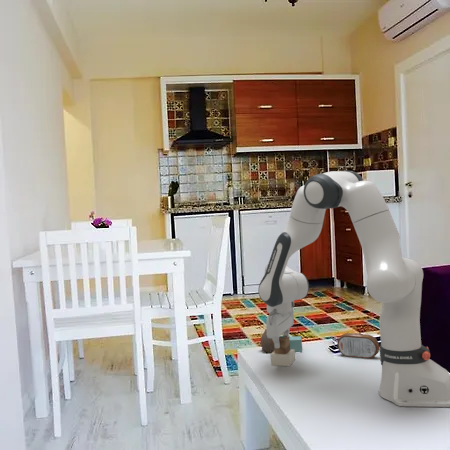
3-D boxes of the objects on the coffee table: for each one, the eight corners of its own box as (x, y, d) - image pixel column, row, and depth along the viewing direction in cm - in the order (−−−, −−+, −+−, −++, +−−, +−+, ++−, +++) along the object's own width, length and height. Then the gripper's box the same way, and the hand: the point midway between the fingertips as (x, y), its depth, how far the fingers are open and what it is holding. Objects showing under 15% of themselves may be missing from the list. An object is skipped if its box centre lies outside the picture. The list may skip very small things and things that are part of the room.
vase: (258, 350, 204) (256, 328, 204) (274, 347, 206) (272, 326, 206) (265, 354, 197) (263, 332, 197) (281, 351, 199) (279, 329, 199)
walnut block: (290, 350, 186) (289, 336, 186) (286, 354, 182) (285, 340, 182) (278, 349, 188) (277, 336, 188) (274, 353, 184) (273, 339, 184)
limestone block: (295, 360, 187) (294, 349, 187) (289, 366, 181) (288, 355, 181) (277, 359, 190) (276, 348, 190) (271, 365, 184) (270, 354, 184)
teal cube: (302, 348, 201) (301, 336, 201) (302, 352, 196) (300, 339, 196) (289, 349, 202) (288, 336, 202) (289, 353, 197) (287, 340, 197)
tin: (380, 357, 182) (378, 334, 182) (378, 360, 179) (376, 336, 179) (340, 354, 190) (338, 331, 190) (337, 356, 188) (335, 334, 187)
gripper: (277, 313, 174) (280, 353, 175) (295, 300, 192) (298, 336, 193) (260, 312, 177) (263, 352, 177) (279, 300, 195) (282, 336, 196)
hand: (282, 344), depth 185 cm, fingers open, 8 cm apart
